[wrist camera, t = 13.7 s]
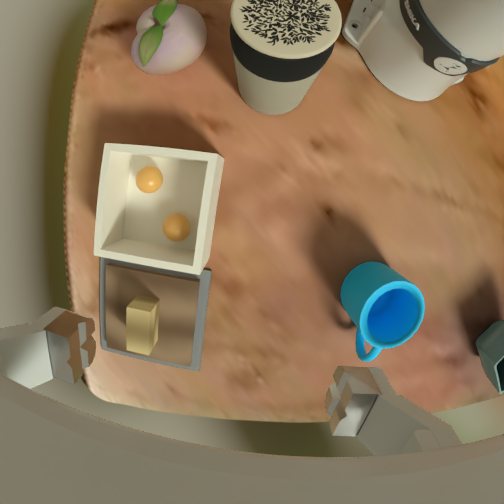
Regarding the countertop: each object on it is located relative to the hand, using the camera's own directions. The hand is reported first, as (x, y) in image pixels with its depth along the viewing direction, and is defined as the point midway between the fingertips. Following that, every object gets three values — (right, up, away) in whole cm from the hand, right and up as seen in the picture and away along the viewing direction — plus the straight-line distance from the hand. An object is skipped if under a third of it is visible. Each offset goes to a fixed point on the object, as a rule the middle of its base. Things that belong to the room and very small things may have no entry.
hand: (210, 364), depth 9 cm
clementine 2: (-7, +7, +27) cm, 29 cm away
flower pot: (+42, -12, +32) cm, 54 cm away
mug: (+16, -3, +30) cm, 34 cm away
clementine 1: (-10, +12, +26) cm, 30 cm away
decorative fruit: (-8, +28, +23) cm, 37 cm away
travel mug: (+4, +23, +24) cm, 34 cm away
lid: (-12, -5, +30) cm, 33 cm away
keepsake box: (-9, +9, +27) cm, 30 cm away
